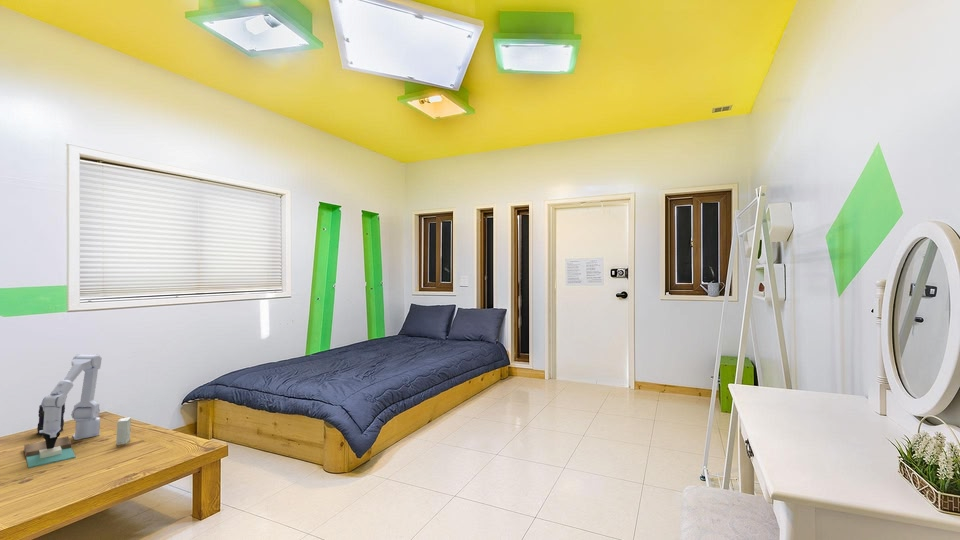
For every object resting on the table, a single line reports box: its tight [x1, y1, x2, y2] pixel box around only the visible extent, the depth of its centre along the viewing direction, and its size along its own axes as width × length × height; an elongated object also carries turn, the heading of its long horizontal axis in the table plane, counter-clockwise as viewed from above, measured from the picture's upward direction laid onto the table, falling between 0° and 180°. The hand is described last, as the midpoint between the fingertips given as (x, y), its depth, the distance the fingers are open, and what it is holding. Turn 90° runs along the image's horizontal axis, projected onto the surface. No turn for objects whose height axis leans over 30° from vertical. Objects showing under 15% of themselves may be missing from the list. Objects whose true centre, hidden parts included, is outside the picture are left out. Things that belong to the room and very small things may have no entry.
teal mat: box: [25, 447, 76, 469], centre depth 191 cm, size 15×14×1 cm
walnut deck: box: [23, 436, 72, 458], centre depth 200 cm, size 15×12×2 cm
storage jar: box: [36, 403, 66, 437], centre depth 219 cm, size 10×10×15 cm
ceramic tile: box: [39, 446, 62, 458], centre depth 194 cm, size 7×6×2 cm
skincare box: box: [115, 416, 132, 446], centre depth 212 cm, size 6×4×12 cm
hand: (50, 448), depth 194 cm, fingers closed
